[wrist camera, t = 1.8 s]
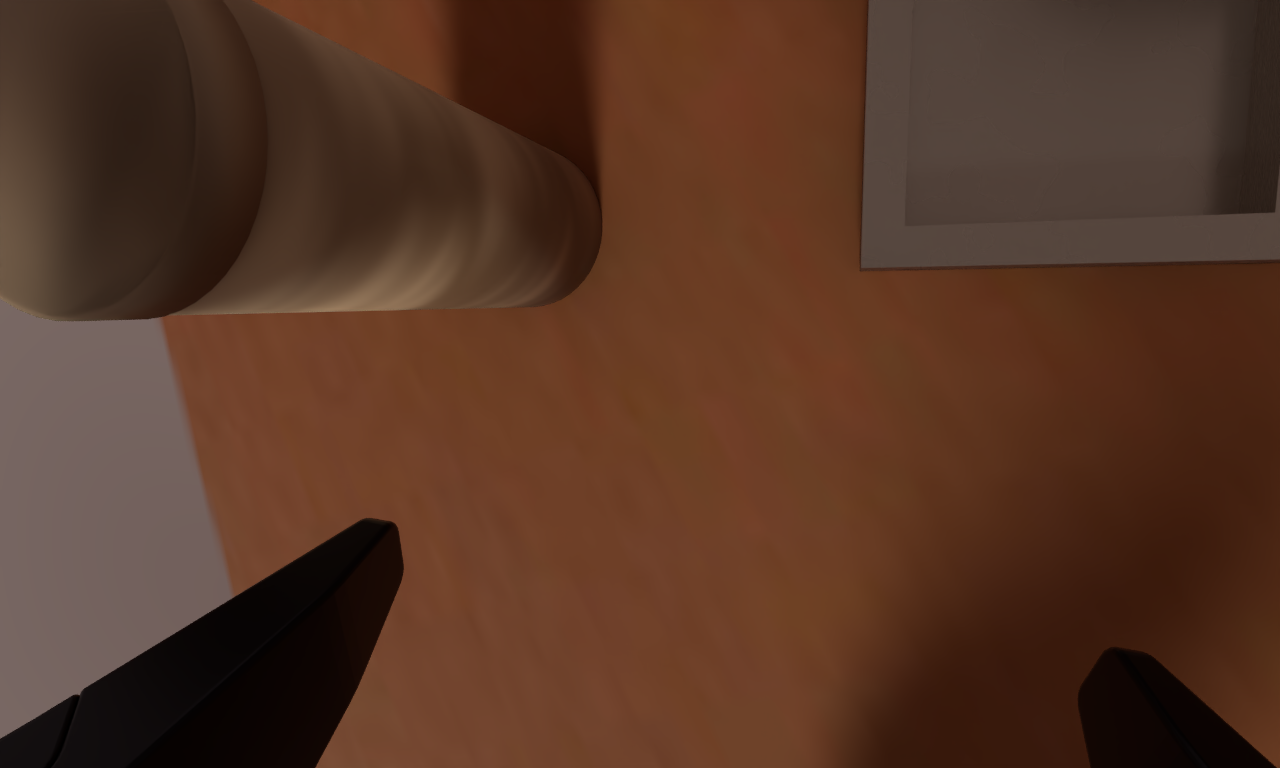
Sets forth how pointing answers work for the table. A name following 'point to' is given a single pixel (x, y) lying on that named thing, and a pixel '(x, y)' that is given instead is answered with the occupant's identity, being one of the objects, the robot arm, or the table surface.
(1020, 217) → the grey tray
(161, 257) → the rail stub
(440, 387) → the table surface
